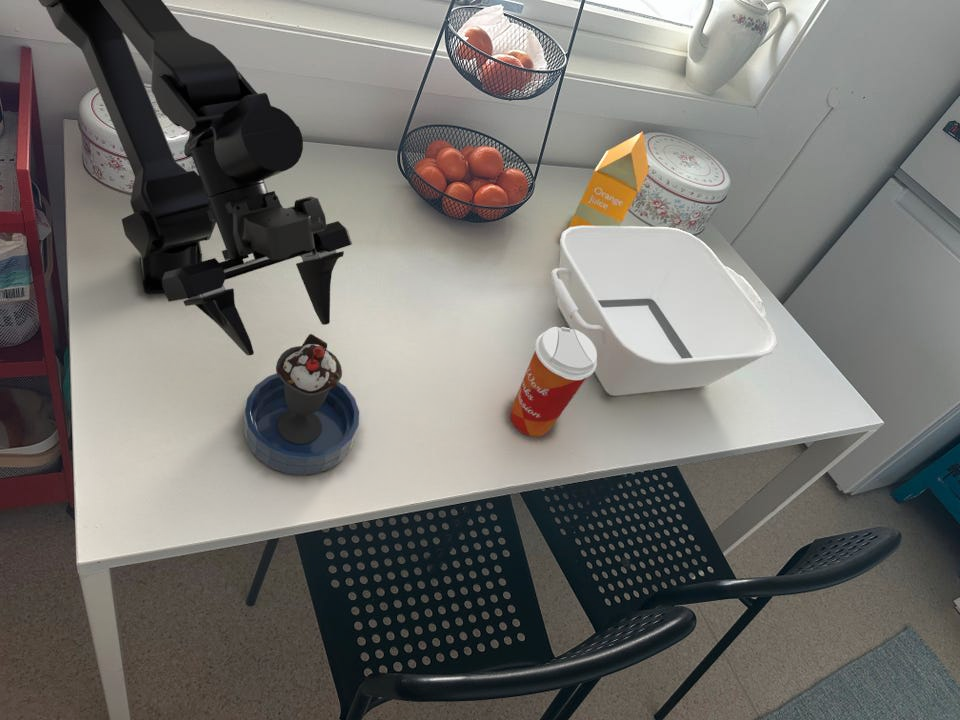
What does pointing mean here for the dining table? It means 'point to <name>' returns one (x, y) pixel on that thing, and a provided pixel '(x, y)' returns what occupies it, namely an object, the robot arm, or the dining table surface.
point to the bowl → (299, 458)
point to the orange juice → (613, 185)
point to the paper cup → (552, 379)
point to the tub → (657, 308)
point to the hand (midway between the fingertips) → (289, 338)
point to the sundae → (306, 388)
